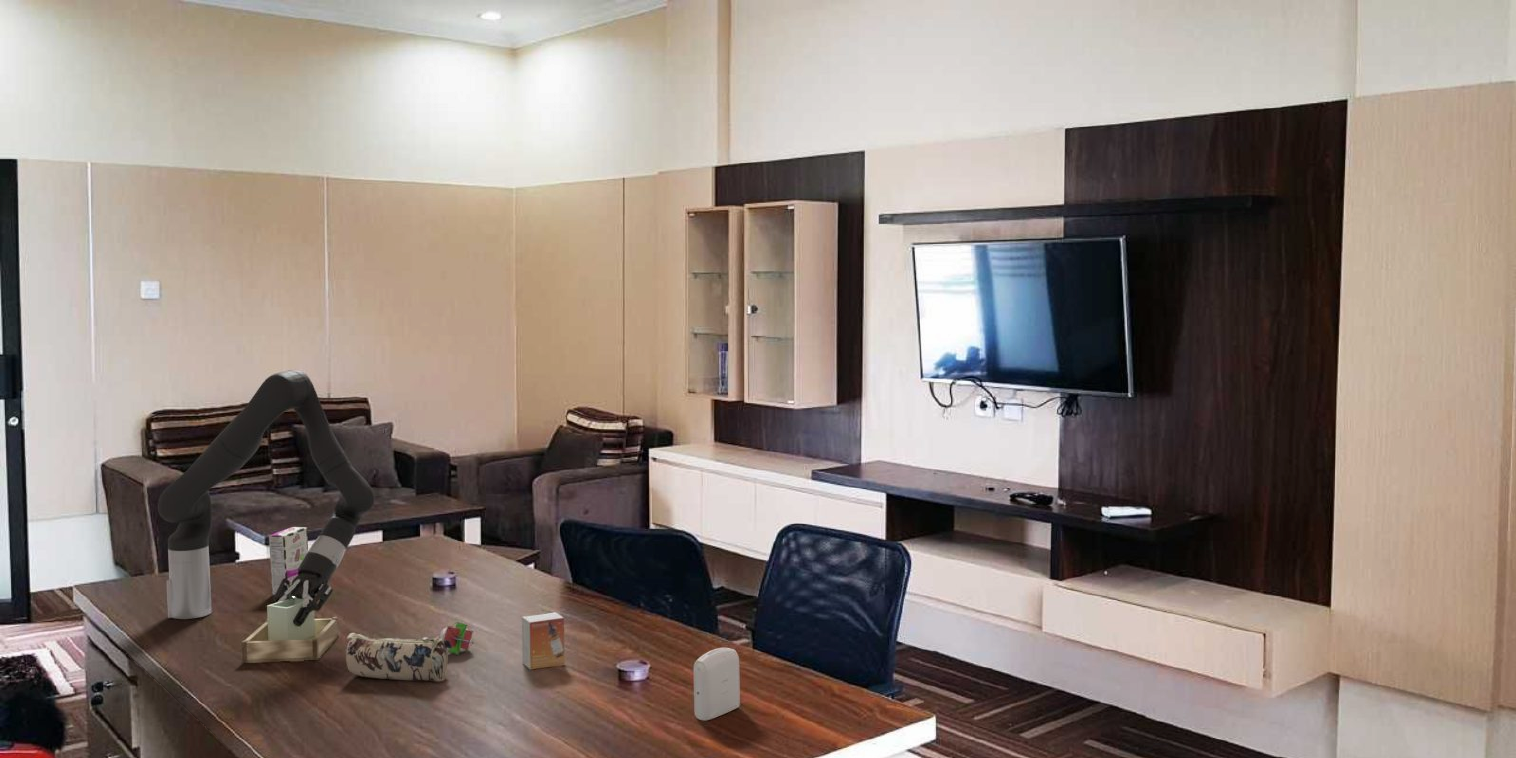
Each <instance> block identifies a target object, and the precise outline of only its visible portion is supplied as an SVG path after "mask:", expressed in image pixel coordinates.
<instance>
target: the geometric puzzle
mask: <svg viewBox="0 0 1516 758" xmlns="http://www.w3.org/2000/svg"><path fill="white" fill-rule="evenodd" d="M455 624H456V625H455V627H454V625H449V626H446V627H444V628H442V630H441V632H440V635H439V639H441V640H442V641H443V642H444V641H446V640H449V642H450V645H451V647H452V648H448V649H447V652H449V653H452V654H454V655H458V656H459V655H460V654H462V653H463V652H464V650H465V651H466V650H467V651H469V648H470V643H471V645H473V644H474V641H471V640H472V639H473V633H474V631H473V630H471V628H469V625H468V624H465V623H462V622H459V621H456V622H455ZM467 629H468V630H467ZM460 651H461V652H460Z"/></svg>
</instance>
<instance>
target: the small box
mask: <svg viewBox="0 0 1516 758" xmlns="http://www.w3.org/2000/svg"><path fill="white" fill-rule="evenodd" d="M521 644H522V647H521V648H522V649H521V650H522V652H521V653H522V656H521V659H522V664H523V665H524V666H525V667H526V668H528V669H529V670H535V669H543V668H549V667H550V668H551V667H558V666H565V664H566V662H565V661H566V657H565V656H566V653H565V651H566V650H565V647H566V646H565V617H563V616H562V615H561V614H559V613H558V612H557V611H556V612H555V611H554V612H550V613H543V614H534V615H527V616H526V615H525V616H521Z"/></svg>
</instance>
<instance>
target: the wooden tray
mask: <svg viewBox="0 0 1516 758" xmlns="http://www.w3.org/2000/svg"><path fill="white" fill-rule="evenodd" d="M338 638H339V617H338V616H333V617H332V618H331V617H330V618H315V638H313V639H311V640H279V641H268V618H267V619H266V620H265V622H264V623H263V624H262V625H260V626H259V627H258V628H257V629H256V630H254V631H253V633H251V634H250V635H248V637H247V638H245V640H242V641H241V650H242V652H241V653H242V654H241V655H242V663H243V664H255V663H257V664H258V663H280V662H281V661H290V662H308V661H307V660H318V659H319V658H320V659H321V657H322V656H323V655H324V654H325V653H326V652H325V650H327V651H328V649H329V648H330V647H331V646H332V645H333V644H334V643H335V642H336V640H338ZM334 641H335V642H334ZM333 642H334V643H333ZM332 643H333V644H332ZM324 652H325V653H324ZM323 653H324V654H323ZM322 654H323V655H322ZM321 655H322V656H321ZM320 656H321V657H320ZM320 659H319V660H320ZM304 660H306V661H304ZM319 660H318V661H319ZM281 663H282V662H281Z"/></svg>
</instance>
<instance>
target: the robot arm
mask: <svg viewBox="0 0 1516 758" xmlns="http://www.w3.org/2000/svg"><path fill="white" fill-rule="evenodd" d="M314 386H315V385H314V384H313V382H312V380H311V378H310V377H309V376H308V375H307V374H306V373H305V372H304V371H302V370H298V369H290V370H286V371H280V372H277V373H273V374H271V375H270V376H268V377H267V378H266V379H265V380H264V381H263V382H262V383H261V385H260V386H259V388H257V390H256V392H255V394H254V395H253V396H252V397H251V399H250V400H249V402H248V403H247V404H246V406H245V407H244V408H243V409H242V410H241V411H240V412H239V413H238V414H237V415H236V416H235V417H234V418H233V419H232V420H231V421H230V423H228V425H227V426H225V427H224V428H223V430H222V431H220V432H219V434H218V435H217V436H216V437H215V438H214V440H213V441H211V443H210V444H209V445H208V446H207V447H206V449H205V450H204V451H203V452H202V453H201V454H200V455H199V456H198V458H196V460H195V461H194V462H193V463H192V465H190V467H189V468H188V469H187V470H186V471H184V473H183V474H181V475H180V476H179V477H177V478H176V480H175V481H173V482H172V483H170V485H168V486H167V487H166V488H165V489H164V490H163V492H161V494H160V495H159V497H158V498H159V499H158V501H157V510H158V511H157V512H158V514H159V516H160V518H162V519H163V520H164V521H166V522H169V523H173V524H174V523H178V526H177V528H176V529H175V531H174V532H173V533H172V534H170V535H169V537H168V538H167V553H168V555H167V556H168V574H169V577H168V578H169V579H167V580H166V582H165V583H166V599H167V601H166V603H167V619H174V620H175V619H176V620H191V619H197V618H202V617H206V616H208V615H210V614H212V592H211V573H210V572H211V571H210V567H211V566H210V553H209V552H210V550H209V548H210V547H209V539H210V536H211V532H212V499H211V494H210V492H209V490H210V489H212V488H214V487H215V486H216V485H218V484H220V483H221V482H223V481H224V480H226V479H229V477H231V476H232V475H234V474H235V473H236V472H238V471H239V470H240V469H241V468H242V467H244V466H245V464H246V463H247V462H248V461H249V460H251V458H252V457H253V456H254V455H255V454H256V452H257V450H258V449H259V448H260V446H261V444H262V441H263V437H264V433H265V432H266V430H267V429H268V427H269V426H270V425H271V424H273V422H275V421H276V420H277V419H278V418H279V417H280V416H281V415H283V414H284V413H285V412H287V411H290V410H294V412H295V413H296V414H297V415H298V417H299V418H300V419H301V421H302V424H303V426H304V428H305V431H306V437H307V441H308V446H309V451H310V456H311V457H312V460H313V462H314V464H315V466H316V467H317V469H318V471H319V472H320V473H321V475H322V477H323V478H324V480H325V482H327V484H328V485H330V486H335V487H336V489H337V490H339V492H340V494H341V496H339V499H338V500H337V502H336V504H335V505H334V507H333V509H332V512H331V514H330V516H329V519H328V521H327V522H326V523H325V525H324V527H323V528H322V530H321V532H320V533H319V535H318V537H317V538H316V539H315V540H314V541H313V543H312V544H311V546H310V548H308V553H307V554H306V556H305V558H304V559H303V561H302V563H301V564H300V566H299V568H298V575H297V576H296V577H295V578H294V579H293V580H288V579H287V578H284V579H283V580H282V582H281V584H280V586H279V588H278V590H277V592H276V594H275V595H273V598H272V599H273V601H274V602H275V603H277V602H280V601H284V600H287V599H293V600H295V599H294V597H296V598H299V599H303V608H300V610H299V611H298V613H297V615H296V617H295V618H294V620H293V623H294V624H295V625H296V626H301V625H302V624H303V623H304V622H305V620H306V618H307V616H308V615H309V613H311V612H312V611H314V612H315V611H316V612H319V611H320V610H321V609H322V608H323V606H324V605H325V603H326V602H327V601H328V599H329V597H330V596H331V594H332V593H333V591H334V589H333V588H332V587H331V586H330V585H329V582H330V580H331V579H332V577H333V575H334V573H335V572H336V570H337V568H338V566H339V565H340V563H341V561H342V560H343V557H344V555H345V553H346V550H347V549H348V547H349V546H350V543H351V542H352V541H353V539H354V537H355V533H356V528H357V526H358V525H359V523H360V521H361V520H362V518H363V516H364V515H365V514H367V513H368V512H369V511H371V509H373V508H374V506H375V502H376V496H375V493H374V490H373V489H372V486H371V485H370V484H369V483H368V481H367V480H366V479H365V478H364V477H363V476H362V475H361V473H359V472H358V470H356V469H355V468H354V466H353V465H352V463H351V461H350V460H349V458H348V456H347V454H346V452H345V451H344V450H343V448H342V446H341V445H340V443H339V441H338V439H337V437H336V436H335V434H334V432H333V430H332V427H331V425H330V422H329V421H328V419H327V415H326V413H325V411H324V409H323V407H322V404H321V401H320V399H319V396H318V394H317V391H316V388H315V387H314ZM291 593H293V594H291ZM309 602H310V603H309Z"/></svg>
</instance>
